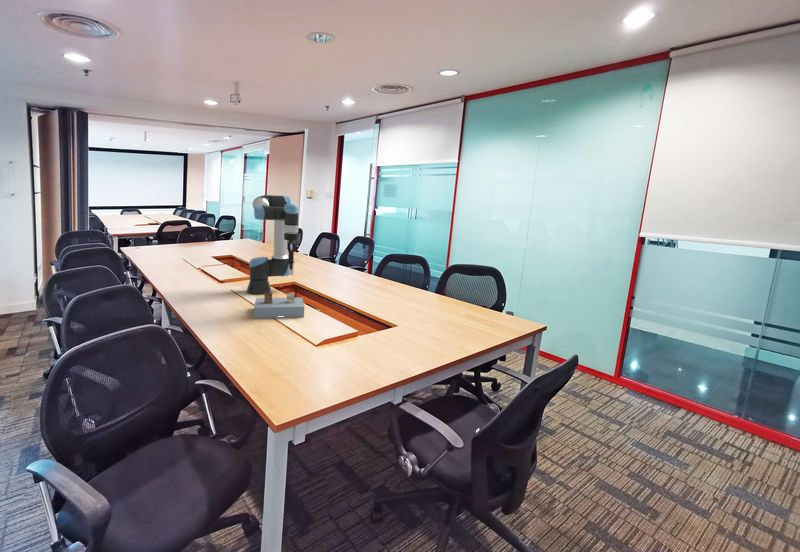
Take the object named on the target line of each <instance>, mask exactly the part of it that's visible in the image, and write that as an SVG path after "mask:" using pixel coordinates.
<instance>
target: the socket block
mask: <svg viewBox="0 0 800 552" xmlns="http://www.w3.org/2000/svg"><path fill="white" fill-rule="evenodd" d="M278 316H284V317H289V318H290V319H291V318H304V317H305V305H304V298H303V297H302V296H301V297H294V303H287V297H272V304H265V303H264V297H256V298H255V302H254V307H253V319H276V318H275V317H278ZM289 318H288V319H289Z"/></svg>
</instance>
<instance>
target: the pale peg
mask: <svg viewBox="0 0 800 552" xmlns="http://www.w3.org/2000/svg"><path fill="white" fill-rule="evenodd" d="M295 295H296V294H295V292H286V298H287V303H294V298H295Z"/></svg>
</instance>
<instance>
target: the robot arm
mask: <svg viewBox="0 0 800 552" xmlns="http://www.w3.org/2000/svg"><path fill="white" fill-rule="evenodd" d="M252 207H253V211H254V212H253V214H254V219H255V220H259V221H273V222H274V223H273V226H274V227H273V228H274V229H273V254H272V255H271V258H269V257H268V256H258V257H253V258H251V259H250V260H249V265H248V267H249V283H248V284H247V288H246V292H247V293H248V294H252V295H264V294H265V293H272V287H271V285H270V282H269V277H289V276H294V264H295V261H294V260H295V259H294V253H295V247H296V243H295V242H294V241H298V240H299V234H298V233H299V213H300V210H299V205H298V204H293V201H292V199H291V197H290V196H286V195H271V194H264V195H260V196H257V197H256V198H254V199H253V201H252Z"/></svg>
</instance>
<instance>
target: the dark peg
mask: <svg viewBox="0 0 800 552" xmlns="http://www.w3.org/2000/svg"><path fill="white" fill-rule="evenodd" d="M263 295H264V297H263V298H264V303H265V304H272V298H273V292H270V293H265V294H263Z"/></svg>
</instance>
